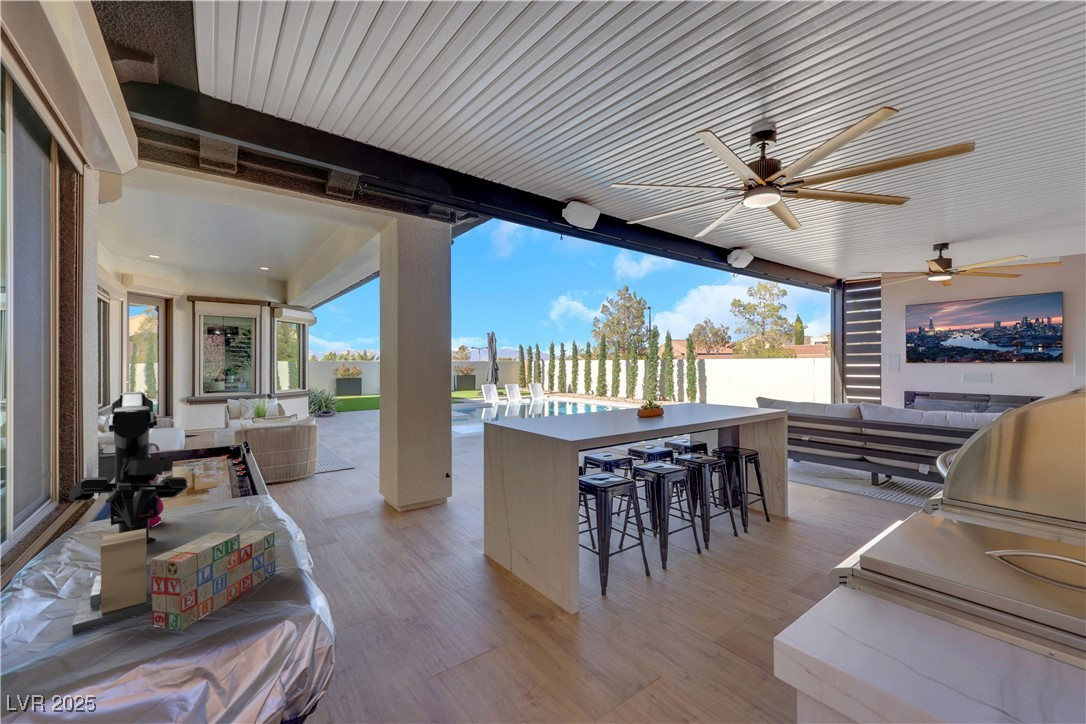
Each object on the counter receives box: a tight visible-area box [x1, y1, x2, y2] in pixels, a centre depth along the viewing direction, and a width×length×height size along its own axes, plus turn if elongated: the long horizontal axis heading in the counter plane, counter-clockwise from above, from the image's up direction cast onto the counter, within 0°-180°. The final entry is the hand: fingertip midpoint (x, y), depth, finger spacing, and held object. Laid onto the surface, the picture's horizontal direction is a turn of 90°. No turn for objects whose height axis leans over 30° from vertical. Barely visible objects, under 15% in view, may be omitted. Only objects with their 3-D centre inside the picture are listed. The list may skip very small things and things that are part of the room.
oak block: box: [100, 528, 148, 614], centre depth 85 cm, size 6×6×12 cm
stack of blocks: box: [151, 529, 276, 631], centre depth 89 cm, size 21×6×12 cm, turn 169°
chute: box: [71, 563, 152, 635], centre depth 90 cm, size 22×13×4 cm, turn 40°
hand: (132, 526), depth 97 cm, fingers closed
